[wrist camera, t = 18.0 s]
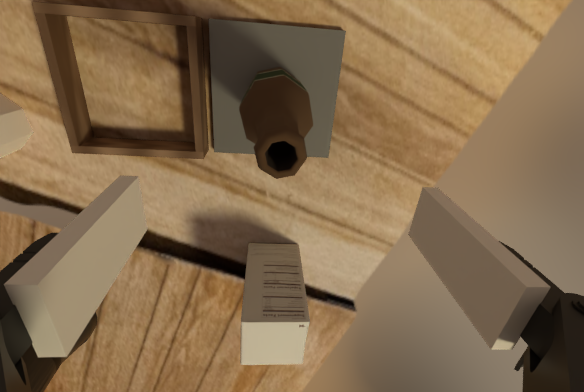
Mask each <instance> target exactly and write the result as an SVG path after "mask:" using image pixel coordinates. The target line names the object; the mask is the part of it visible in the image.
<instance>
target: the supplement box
mask: <svg viewBox="0 0 584 392" xmlns="http://www.w3.org/2000/svg"><path fill="white" fill-rule="evenodd" d="M309 323H310V319H309V312H308V305H307V298H306V292H305V285H304V278H303V271H302V264H301V257H300V250H299V245H297V244H265V243H249V244H248V253H247V263H246V274H245V284H244V295H243V305H242V316H241V365H271V364H303V358H304V350H305V343H306V337H307V332H308V327H309Z"/></svg>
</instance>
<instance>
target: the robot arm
mask: <svg viewBox="0 0 584 392" xmlns="http://www.w3.org/2000/svg"><path fill="white" fill-rule="evenodd" d="M146 230H147V223H146V217H145V211H144V205H143V199H142V193H141V187H140V181H139V176H119V177H118V178H117V179H116V180H115V181H114V182H113V183H112V184H111V185H110V186H109V187H108V188H107V189H105V190H104V191H103V192H102V193H101V194H100V195H99V196H98V197H97V198H96V199H95V200H94V201H93V202H92V203H90V204H89V205H88V206H87V207H86V208H85V209H84V210H83V211H82V212H81V213H80V214H79V215H78V216H77V217H76V218H74V219H73V220H72V221H71V222H70V223H69V224H68V225H67V226H66V227H65V228H64V229H63V230H62V231H60V232H59V233H50V234H48V235H46V236H44V237H42V238H40V239H38V240H37V241H35V242H34V243H32V244H31V245H30V246H29V247H28V248H27V249H26V250H24V251H23V254H20V255H19V256H18V257H16V258H15V259H14V260H13V263H9V264H8V265H7V266H6V267H5V268H4V269H3V270H1V271H0V392H44V390H45V389H46V387H47V386H48V384H49V382H50V381H51V379H52V378H53V376H54V374H55V373H56V371H57V370H58V368H59V366H60V365H61V364H62V362H64V361H65V360H66V359H67V358H68V357H69V356H70V355H71V354H72V353H73V352H74V351H75V350H76V349H77V348H78V347H79V346H81V345H82V344H83V343H85V342H86V341H87V340H88V338H89V337H90V336H91V334H92V332H93V331H94V329H95V327H96V324H97V315H96V312H95V311H96V310H97V308H98V307H99V305H100V303H101V302H102V300H103V299H104V297H105V296H106V294H107V292H108V291H109V289H110V288H111V286H112V284H113V283H114V281H115V280H116V278H117V276H118V275H119V273H120V272H121V270H122V269H123V267H124V265H125V264H126V262H127V261H128V259H129V257H130V256H131V254H132V253H133V251H134V250H135V248H136V246H137V245H138V243H139V242H140V240H141V238H142V237H143V235H144V234H145V232H146ZM409 236H410V238H411V239H412V240H413V242H414V243H415V245H416V246H417V247H418V249H419V250H420V251H421V253H422V254H423V256H424V257H425V258H426V260H427V261H428V262H429V264H430V265H431V267H432V268H433V269H434V271H435V272H436V274H437V275H438V276H439V278H440V279H441V281H442V282H443V284H444V285H445V286H446V288H447V289H448V290H449V292H450V293H451V295H452V296H453V297H454V299H455V300H456V302H457V303H458V304H459V306H460V307H461V308H462V310H463V311H464V313H465V314H466V315H467V317H468V318H469V320H470V321H471V322H472V324H473V325H474V326H475V328H476V329H477V331H478V332H479V334H480V335H481V336H482V338H483V339H484V340H485V342H486V343H487V345H488V346H489V347H490V349H491V350H499V349H500V350H505V349H513V348H514V346H515V344H516V343H517V341H518V340H519V338H520V336H521V337H522V339H523V340H524V341H525V342H526V343H527V344H528V347H527V349H526V351H525V352H524V353H523V355H522V357H521V358H520V360H519V361H518V363H517V364H516V366H515V370H517V371H519V369H520V367H523V369H524V370H523V392H584V296H581V295H578V294H573V293H564V292H563V291H562V290H560V289H559V288H558V287H557V286H556V285H555V284H553V283H552V282H551V281H550V280H549V279H548V278H546V277H545V276H544V275H543V274H542V273H541V272H539V271H538V270H537V269H536V268H533V266H532V265H531V264H530V263H529V262H528V261H526V260H524V258H523V257H522V256H521V255H520V254H518V253H517V252H516V251H515V250H514V249H512V248H510V247H509V246H507V245H505V244H503V243H502V242H500V241H497V240H496V239H495V238H494V237H493V236H492V235H491V234H490V233H489V232H487V231H486V230H485V229H484V228H483V227H482V226H481V225H479V224H478V223H477V222H476V221H475V220H474V219H473V218H471V217H470V216H469V215H468V214H467V213H466V212H465V211H463V210H462V209H461V208H460V207H459V206H458V205H457V204H456V203H454V202H453V201H452V200H451V199H450V198H449V197H448V196H446V195H445V194H444V193H443V192H442V191H441V190H440V189H438V188H428V187H423V188H422V191H421V195H420V198H419V201H418V204H417V208H416V211H415V214H414V218H413V221H412V225H411V228H410V231H409Z"/></svg>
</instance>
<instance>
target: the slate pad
mask: <svg viewBox="0 0 584 392" xmlns="http://www.w3.org/2000/svg"><path fill="white" fill-rule="evenodd" d="M345 33H346V31H342V30H331V29H320V28H309V27H298V26H287V25H275V24H264V23H253V22H242V21H231V20H220V19H209V39H210V62H211V85H212V108H213V131H214V152H222V153H243V154H255V151H254V145H255V143H253V142H251V141H250V140H248V139H247V138H246V135H245V131H244V127H243V123H242V119H241V115H240V111H239V106H240V104H241V101H242V99H243V97H244V94H245V92H246V90H247V89H248V87H249V85H250V84H251V82H252V80H253V79H254V77H255V75H256V74H257V72H258V71H263V70H267V69H272V68H277V67H281V68H283V69H284V70H285V71H287V72H288V73H289V74H291V75H292V76H293V77H295V78H296V79H297V80H299V81H300V82H301V83H302V85H303V86H304V87H305V89H306V90H307V92H308V94H309V99H310V105H311V112H312V119H313V127H312V128H311V129H310V131H309V132H308V134H307V135H306V136H305V138H304V140H305V146H306V152H307V157H326V158H328V156H329V149H330V141H331V134H332V127H333V120H334V112H335V105H336V98H337V91H338V83H339V76H340V69H341V62H342V54H343V47H344V40H345Z"/></svg>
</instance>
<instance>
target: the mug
mask: <svg viewBox="0 0 584 392" xmlns="http://www.w3.org/2000/svg"><path fill="white" fill-rule="evenodd" d="M33 133H34V132H33V129H32V127H31V125H30V123H29V120H28V118H27V116H26V114H25V111H24V109H23V108H21V107H20V106H19V105H17V104H16V103H14V102H13V101H11V100H10V99H8V98H7V97H5V96H4V95H3V94H1V93H0V158H2V157H5V156H7V155H9V154H11V153H14V152H16V151H18V150H20V149H22V148H23V146H24V145H25V144H26V142H27V141H28V140H29V138H30V137H31V136H32V134H33Z"/></svg>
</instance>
